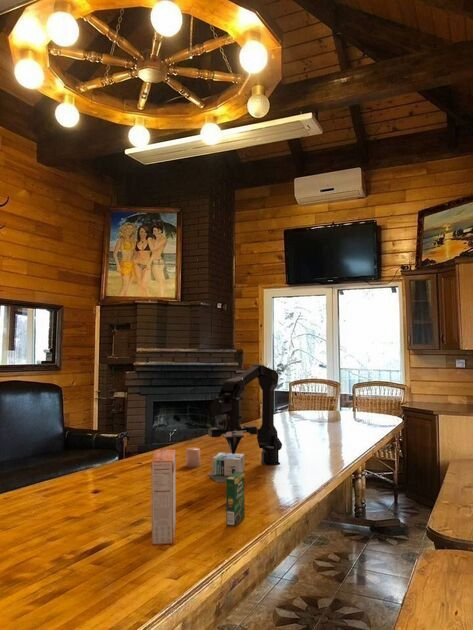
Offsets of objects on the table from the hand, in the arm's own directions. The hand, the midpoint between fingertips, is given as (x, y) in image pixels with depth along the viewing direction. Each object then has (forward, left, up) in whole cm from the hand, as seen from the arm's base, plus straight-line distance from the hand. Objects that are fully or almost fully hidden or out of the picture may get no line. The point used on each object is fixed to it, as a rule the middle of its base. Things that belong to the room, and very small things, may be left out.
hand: (233, 453), depth 188 cm
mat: (+3, 0, -8) cm, 9 cm away
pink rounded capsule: (+10, -22, -9) cm, 26 cm away
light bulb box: (-4, -1, -5) cm, 7 cm away
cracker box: (+37, +49, -9) cm, 62 cm away
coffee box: (+16, +47, -9) cm, 50 cm away
